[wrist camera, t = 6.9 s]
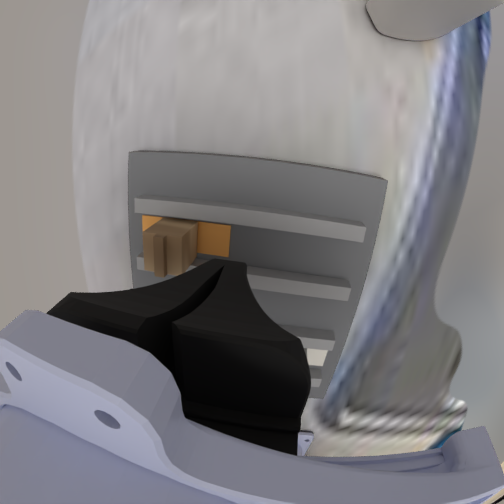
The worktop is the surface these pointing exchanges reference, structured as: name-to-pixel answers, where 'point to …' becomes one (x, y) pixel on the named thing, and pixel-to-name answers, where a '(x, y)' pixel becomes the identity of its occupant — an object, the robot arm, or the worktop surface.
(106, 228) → the worktop surface
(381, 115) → the worktop surface
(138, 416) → the robot arm
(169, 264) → the oak tab
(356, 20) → the worktop surface
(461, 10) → the eye dropper bottle
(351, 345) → the worktop surface
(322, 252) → the switch board
